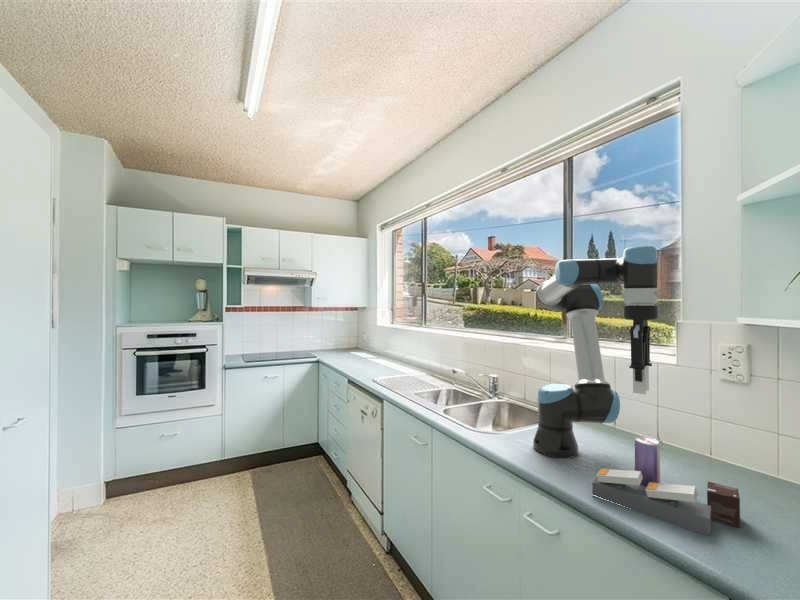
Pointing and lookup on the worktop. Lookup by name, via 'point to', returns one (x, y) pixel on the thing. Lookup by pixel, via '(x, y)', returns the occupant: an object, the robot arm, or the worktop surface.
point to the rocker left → (620, 476)
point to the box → (724, 504)
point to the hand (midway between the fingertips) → (641, 391)
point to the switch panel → (656, 505)
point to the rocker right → (672, 492)
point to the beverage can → (647, 459)
